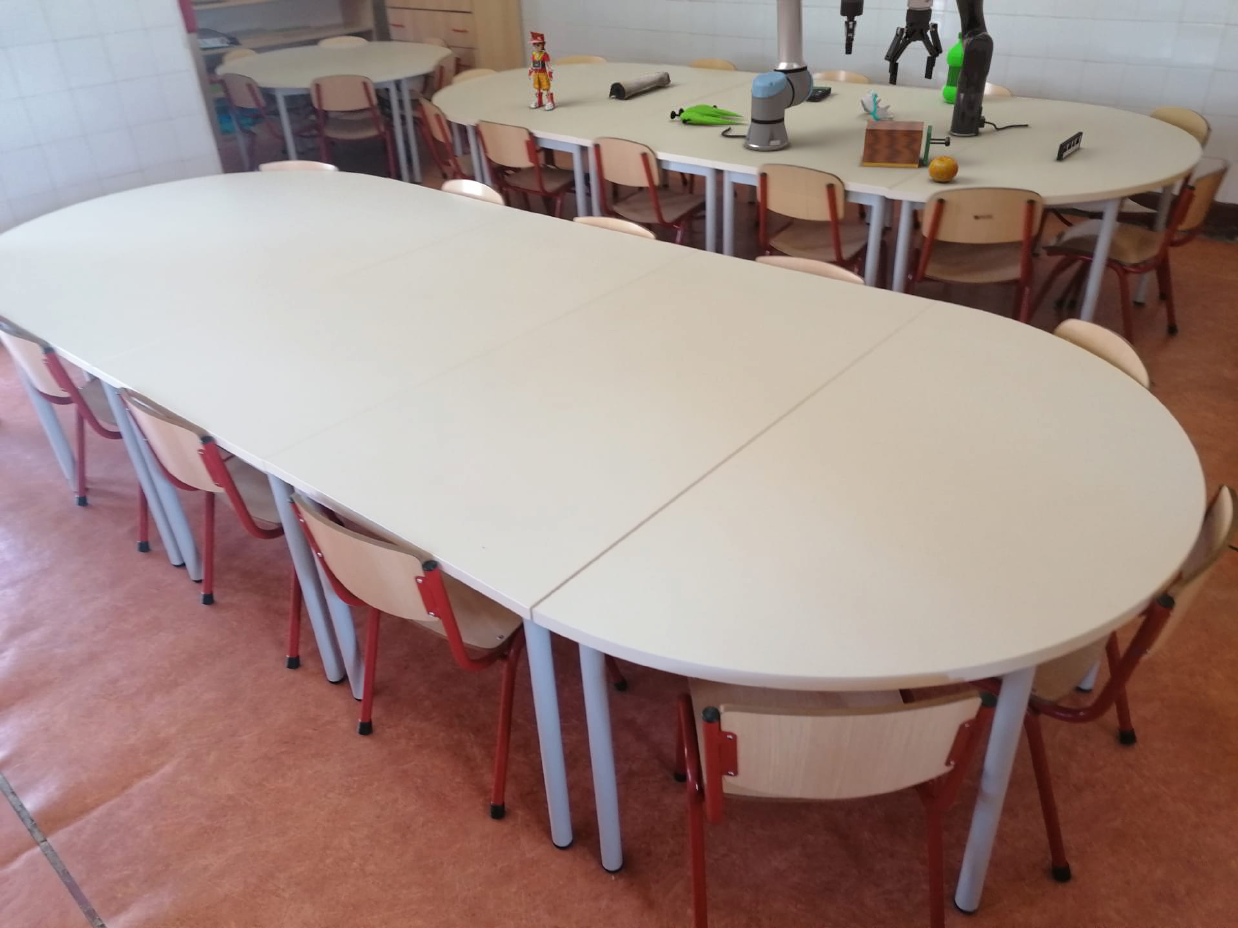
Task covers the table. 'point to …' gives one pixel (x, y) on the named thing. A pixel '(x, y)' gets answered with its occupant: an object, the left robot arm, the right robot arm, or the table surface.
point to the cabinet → (892, 143)
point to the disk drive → (819, 93)
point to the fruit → (943, 169)
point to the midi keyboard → (1069, 145)
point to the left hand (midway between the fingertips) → (910, 81)
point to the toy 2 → (704, 115)
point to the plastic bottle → (953, 70)
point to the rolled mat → (638, 84)
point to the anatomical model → (875, 107)
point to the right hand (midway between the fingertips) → (848, 52)
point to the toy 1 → (541, 71)
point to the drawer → (928, 139)
